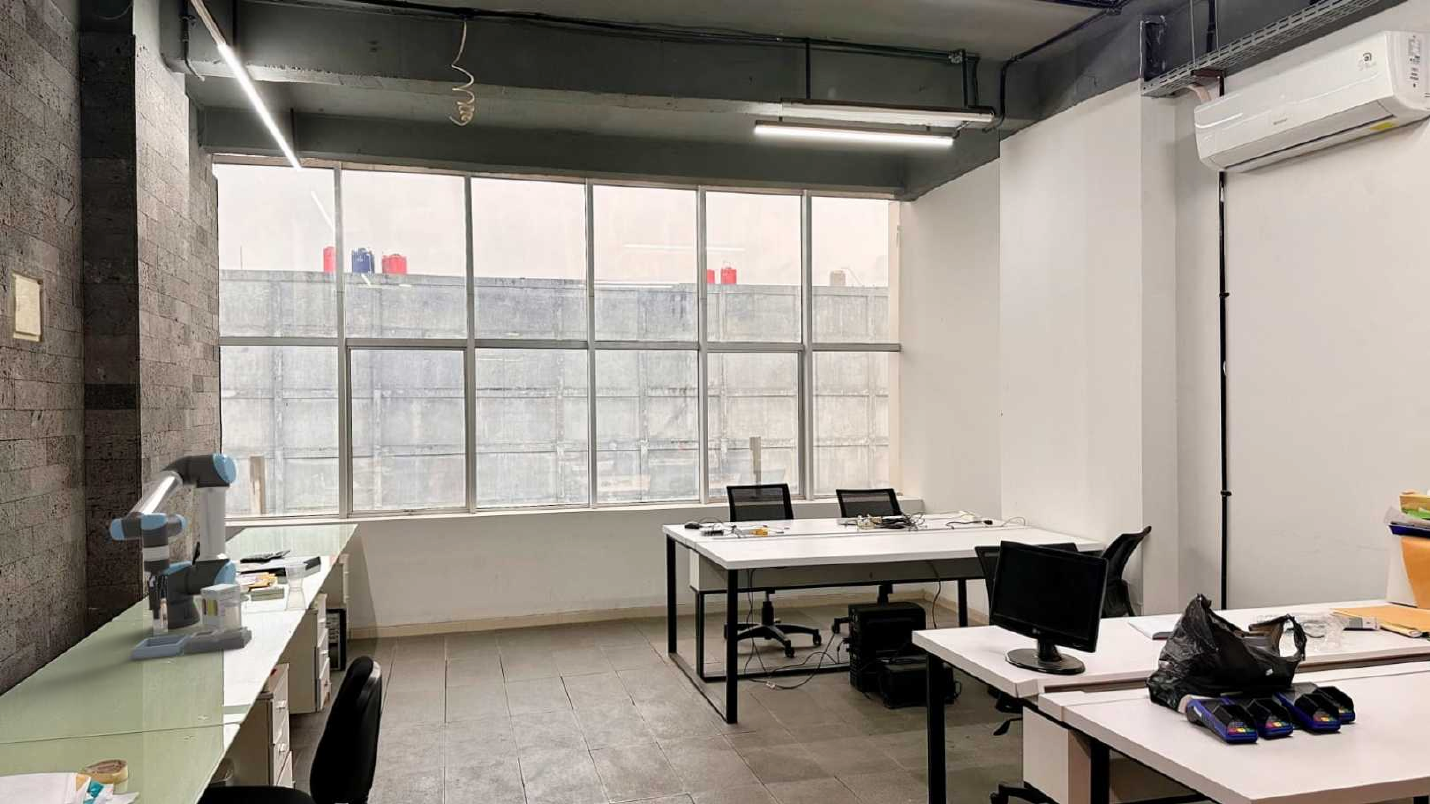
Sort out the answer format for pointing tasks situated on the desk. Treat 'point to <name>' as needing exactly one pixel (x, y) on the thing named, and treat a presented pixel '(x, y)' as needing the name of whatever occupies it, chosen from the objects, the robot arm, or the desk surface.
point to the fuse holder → (221, 634)
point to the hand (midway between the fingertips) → (160, 626)
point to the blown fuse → (164, 615)
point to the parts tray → (160, 646)
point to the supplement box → (218, 605)
